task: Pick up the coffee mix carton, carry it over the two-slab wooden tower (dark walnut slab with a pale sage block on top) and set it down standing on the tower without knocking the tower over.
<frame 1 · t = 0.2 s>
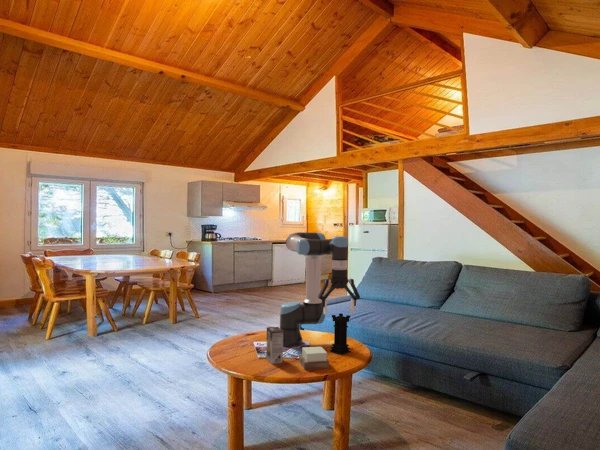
hand: (338, 313, 195), 28 cm above the table, fingers open, 13 cm apart
coffee box: (274, 360, 209), on the table
chess piece: (340, 352, 225), on the table
sage block: (314, 358, 203), point 3 cm above the table
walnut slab: (313, 366, 203), on the table
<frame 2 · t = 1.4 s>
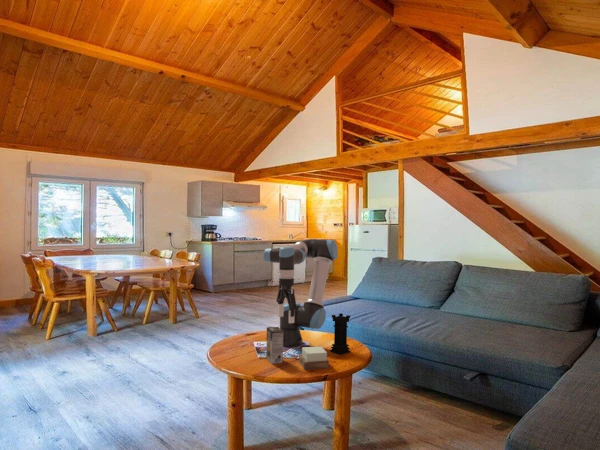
hand: (286, 319, 206), 21 cm above the table, fingers open, 13 cm apart
sage block: (314, 358, 203), point 3 cm above the table, touching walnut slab
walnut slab: (313, 365, 203), on the table, touching sage block
everything else where it was.
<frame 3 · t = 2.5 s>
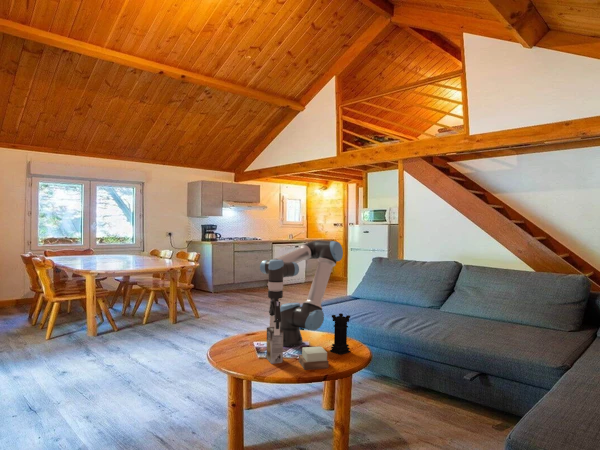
hand: (274, 331, 208), 15 cm above the table, fingers open, 13 cm apart
nothing on the table moved.
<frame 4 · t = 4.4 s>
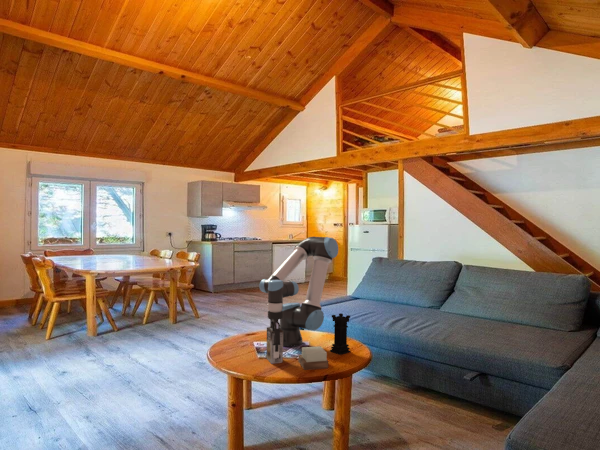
hand: (274, 354, 209), 3 cm above the table, fingers closed on coffee box, 9 cm apart
coffee box: (274, 360, 209), on the table, touching gripper
everything else where it was.
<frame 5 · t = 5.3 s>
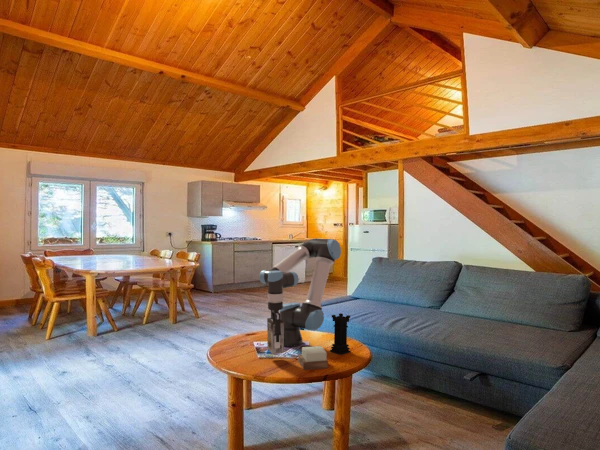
hand: (275, 344, 209), 8 cm above the table, fingers closed on coffee box, 9 cm apart
coffee box: (275, 351, 209), point 5 cm above the table, touching gripper
everything else where it was.
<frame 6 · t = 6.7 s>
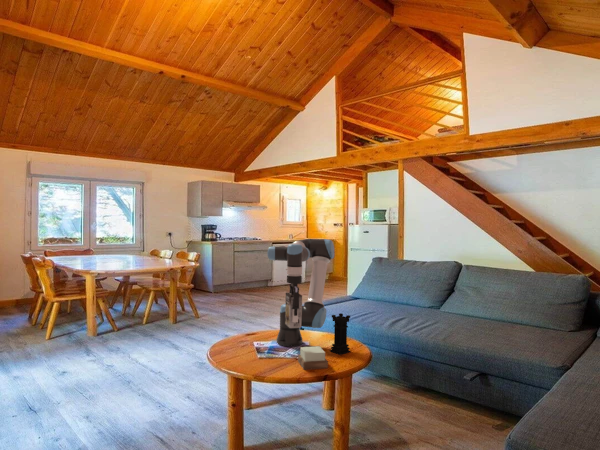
hand: (293, 319, 205), 22 cm above the table, fingers closed on coffee box, 9 cm apart
coffee box: (293, 326, 205), point 18 cm above the table, touching gripper
everything else where it was.
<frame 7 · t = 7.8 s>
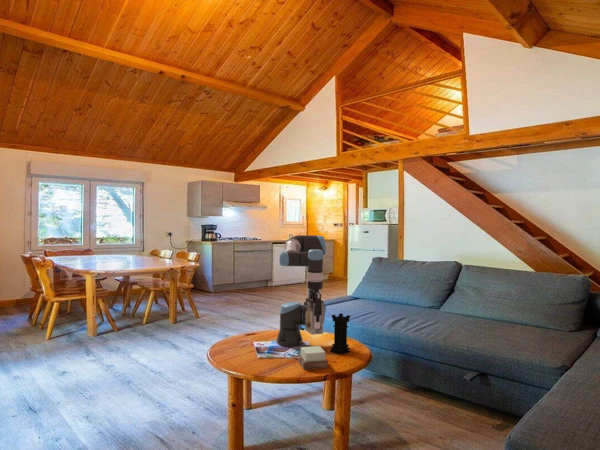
hand: (314, 325, 203), 19 cm above the table, fingers closed on coffee box, 9 cm apart
coffee box: (314, 332, 203), point 16 cm above the table, touching gripper
everything else where it was.
when the fingers open (13 cm above the table, at t = 9.8 s): coffee box drops 2 cm, resting on sage block.
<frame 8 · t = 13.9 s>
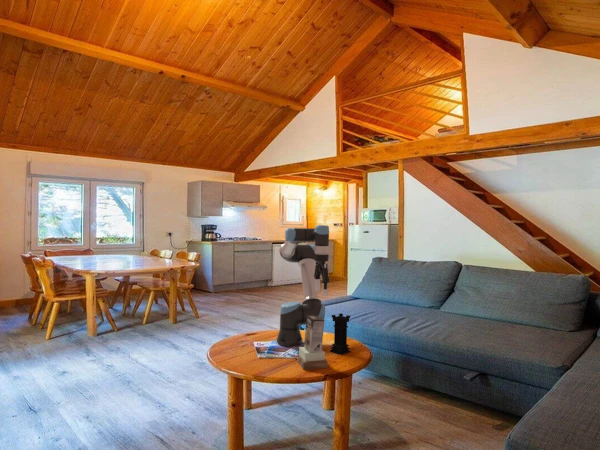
hand: (320, 293, 220), 33 cm above the table, fingers open, 13 cm apart
coffee box: (312, 350, 203), point 7 cm above the table, touching sage block
sage block: (311, 357, 204), point 3 cm above the table, touching coffee box, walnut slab
everything else where it was.
at the end: coffee box inside the target area on the sage block (1.2 cm from its centre), point 4.0 cm above the sage block's base; coffee box tilted 4°; sage block moved 1.5 cm from its start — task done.
